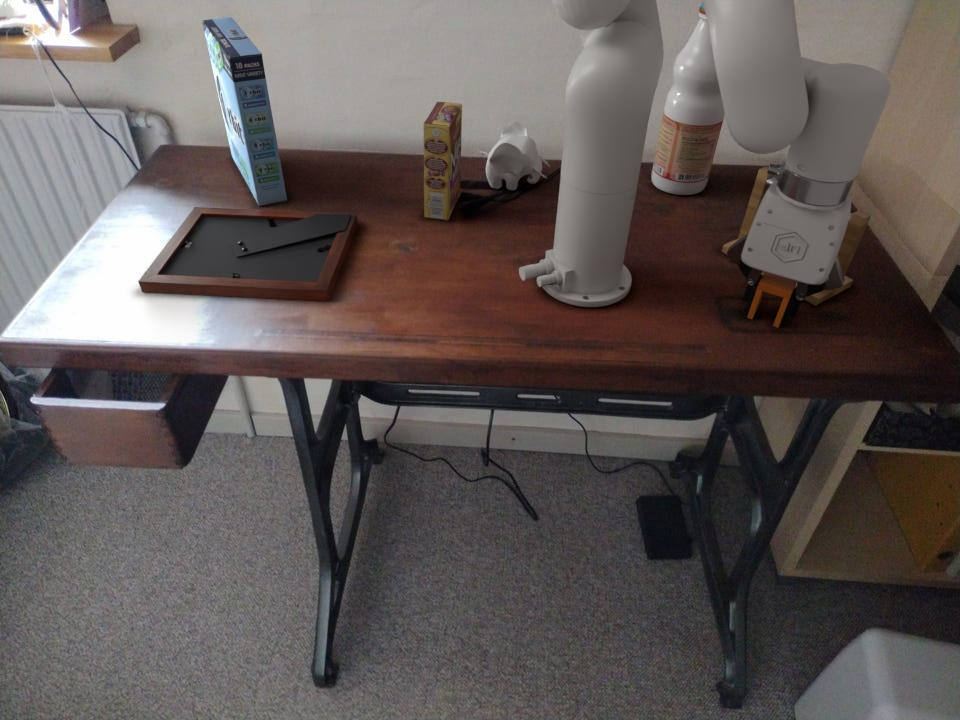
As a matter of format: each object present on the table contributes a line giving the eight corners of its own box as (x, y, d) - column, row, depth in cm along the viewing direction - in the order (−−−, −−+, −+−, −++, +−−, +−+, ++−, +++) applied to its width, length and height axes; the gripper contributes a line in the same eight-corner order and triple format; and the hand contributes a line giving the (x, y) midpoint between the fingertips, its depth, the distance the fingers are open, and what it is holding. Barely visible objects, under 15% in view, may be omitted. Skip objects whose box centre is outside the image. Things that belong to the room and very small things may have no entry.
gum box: (232, 158, 122) (199, 19, 106) (261, 153, 123) (232, 16, 108) (258, 207, 109) (225, 57, 94) (290, 200, 110) (262, 52, 95)
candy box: (451, 222, 106) (449, 125, 96) (424, 218, 107) (420, 123, 97) (462, 195, 113) (462, 102, 103) (437, 192, 113) (434, 100, 103)
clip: (746, 317, 89) (758, 283, 85) (754, 302, 92) (766, 267, 88) (778, 328, 88) (792, 293, 84) (785, 311, 90) (798, 277, 87)
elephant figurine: (544, 200, 112) (549, 148, 106) (472, 192, 114) (473, 140, 108) (552, 174, 119) (556, 124, 113) (484, 167, 121) (485, 117, 115)
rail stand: (815, 306, 91) (849, 225, 83) (721, 251, 101) (743, 174, 93) (850, 287, 95) (886, 207, 87) (756, 236, 105) (780, 160, 96)
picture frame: (357, 224, 105) (197, 217, 106) (356, 212, 104) (194, 205, 105) (328, 301, 90) (142, 292, 91) (326, 288, 89) (137, 279, 90)
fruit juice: (639, 182, 117) (671, 3, 99) (670, 166, 122) (707, -7, 104) (685, 202, 112) (729, 17, 94) (716, 184, 117) (764, 5, 99)
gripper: (731, 177, 78) (695, 306, 90) (891, 217, 72) (829, 350, 84) (748, 153, 83) (711, 279, 95) (898, 188, 77) (839, 318, 89)
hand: (767, 311), depth 89 cm, fingers closed on clip, 4 cm apart
